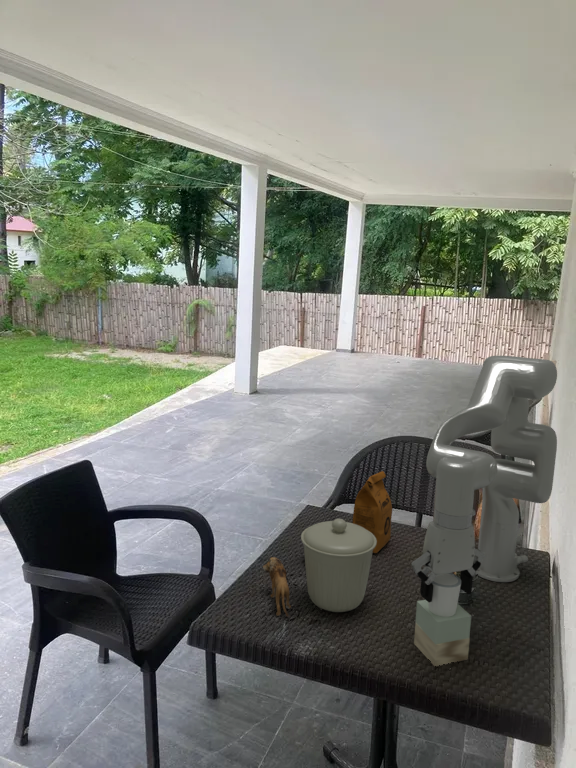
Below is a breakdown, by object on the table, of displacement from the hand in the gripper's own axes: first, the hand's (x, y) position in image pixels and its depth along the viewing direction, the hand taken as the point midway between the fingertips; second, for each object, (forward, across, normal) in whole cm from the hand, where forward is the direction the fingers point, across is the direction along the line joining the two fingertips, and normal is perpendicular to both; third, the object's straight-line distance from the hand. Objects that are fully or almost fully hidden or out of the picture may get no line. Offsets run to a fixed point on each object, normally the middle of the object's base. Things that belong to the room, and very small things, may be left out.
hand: (445, 594), depth 120 cm
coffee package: (+13, -10, -49) cm, 52 cm away
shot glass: (+3, 0, 0) cm, 3 cm away
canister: (+13, +13, -25) cm, 31 cm away
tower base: (+13, 0, 0) cm, 13 cm away
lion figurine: (+13, +27, -29) cm, 42 cm away
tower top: (+8, 0, 0) cm, 8 cm away
